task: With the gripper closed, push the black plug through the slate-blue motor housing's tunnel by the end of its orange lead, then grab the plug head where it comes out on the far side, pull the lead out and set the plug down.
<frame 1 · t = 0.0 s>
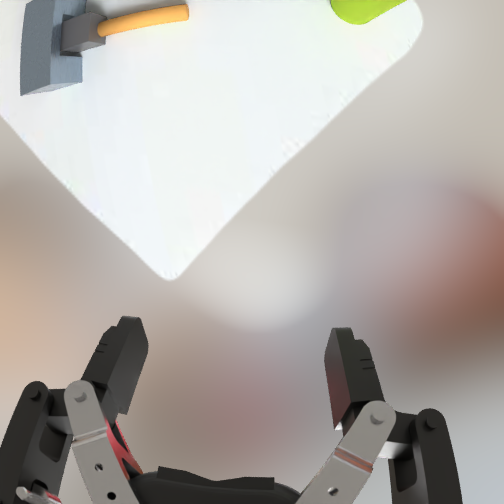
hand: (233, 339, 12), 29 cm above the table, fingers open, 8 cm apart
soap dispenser: (351, 9, 25), on the table
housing: (67, 43, 27), on the table
plug: (91, 34, 27), on the table
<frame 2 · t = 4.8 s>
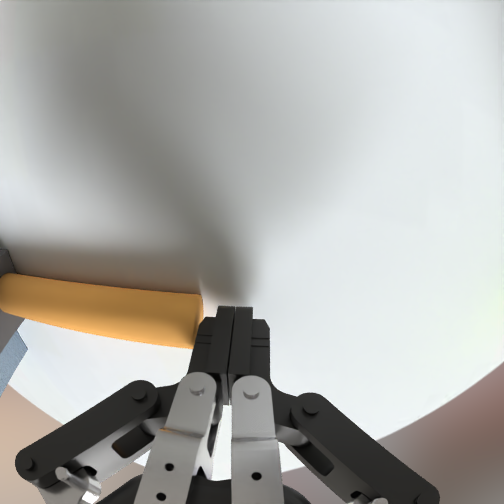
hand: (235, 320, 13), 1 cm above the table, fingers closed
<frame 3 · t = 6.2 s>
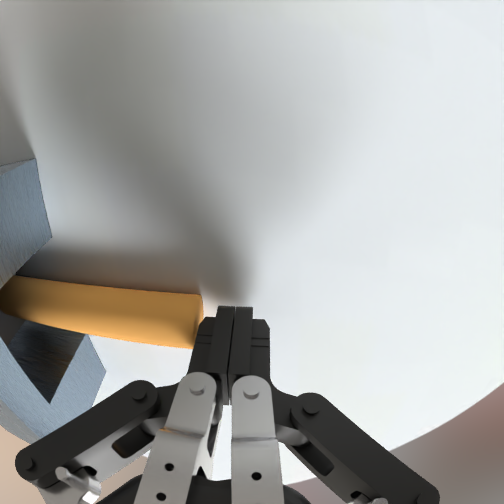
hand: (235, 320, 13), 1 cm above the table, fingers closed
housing: (33, 284, 13), on the table
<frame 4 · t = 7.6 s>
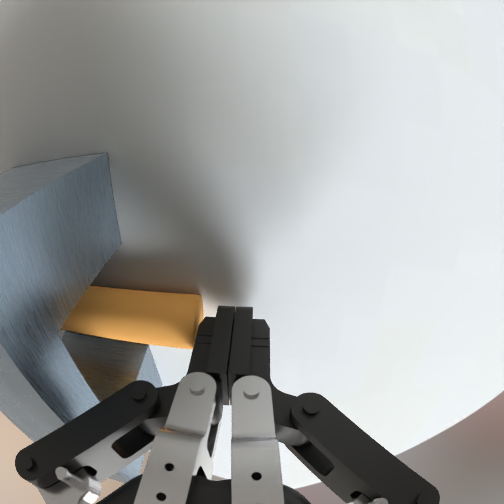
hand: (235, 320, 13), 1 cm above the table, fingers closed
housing: (86, 296, 13), on the table
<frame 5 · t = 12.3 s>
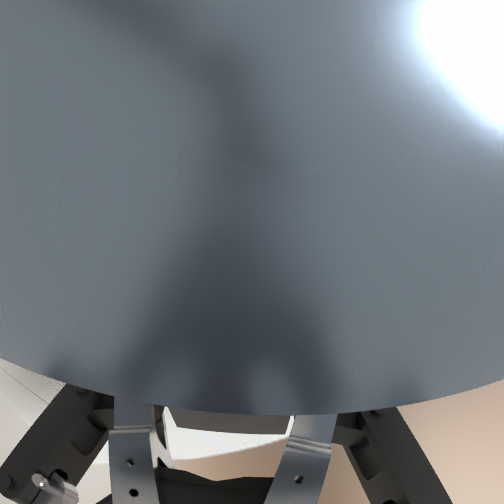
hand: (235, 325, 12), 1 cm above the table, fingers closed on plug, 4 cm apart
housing: (237, 123, 9), on the table
plug: (236, 318, 13), on the table, touching gripper
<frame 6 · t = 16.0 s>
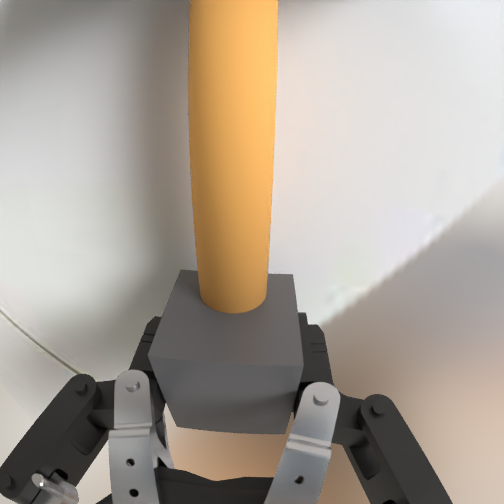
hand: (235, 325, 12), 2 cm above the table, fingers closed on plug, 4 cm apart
plug: (236, 318, 13), point 2 cm above the table, touching gripper
when the fingers open (1 cm above the table, at t = 19.8 s): plug stays where it is, on the table.
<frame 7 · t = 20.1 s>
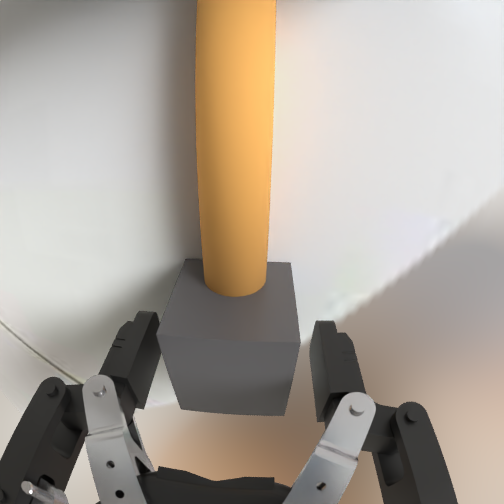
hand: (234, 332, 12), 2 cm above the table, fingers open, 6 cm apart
plug: (238, 305, 14), on the table
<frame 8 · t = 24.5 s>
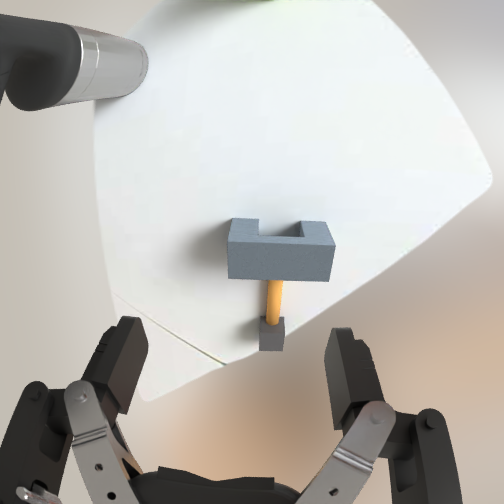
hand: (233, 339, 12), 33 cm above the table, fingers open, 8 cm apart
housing: (278, 237, 46), on the table
plug: (271, 325, 56), on the table
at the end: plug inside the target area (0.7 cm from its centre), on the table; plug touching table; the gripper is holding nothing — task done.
